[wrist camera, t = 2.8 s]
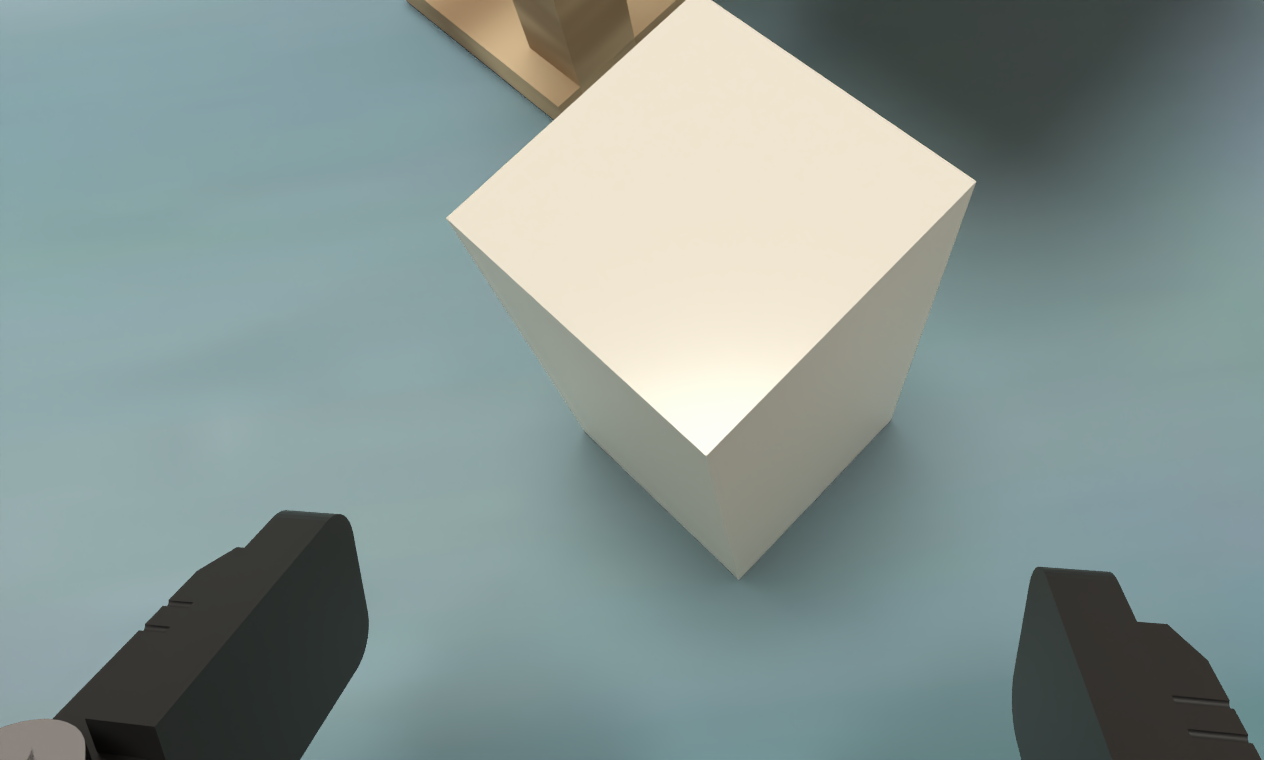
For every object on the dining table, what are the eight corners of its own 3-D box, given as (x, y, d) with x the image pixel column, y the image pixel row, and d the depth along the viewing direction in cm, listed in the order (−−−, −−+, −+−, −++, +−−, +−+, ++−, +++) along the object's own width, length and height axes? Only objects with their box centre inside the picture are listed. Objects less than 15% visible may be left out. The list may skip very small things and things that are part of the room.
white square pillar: (584, 431, 22) (446, 218, 13) (730, 287, 23) (696, -10, 14) (739, 579, 21) (705, 456, 11) (890, 420, 21) (976, 181, 12)
